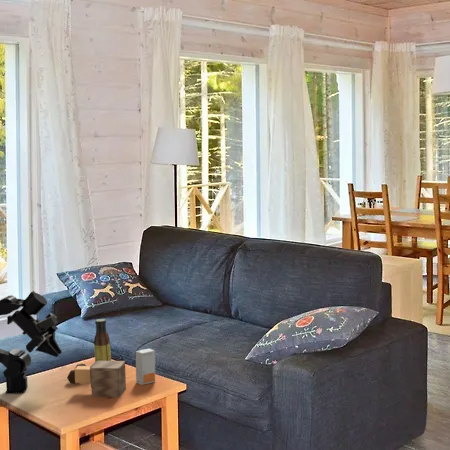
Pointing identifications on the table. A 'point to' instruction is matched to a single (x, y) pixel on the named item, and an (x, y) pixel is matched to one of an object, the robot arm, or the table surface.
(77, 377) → the peg
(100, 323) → the sauce bottle
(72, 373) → the bolt
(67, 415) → the table surface
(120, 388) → the housing
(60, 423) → the table surface
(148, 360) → the skincare box
